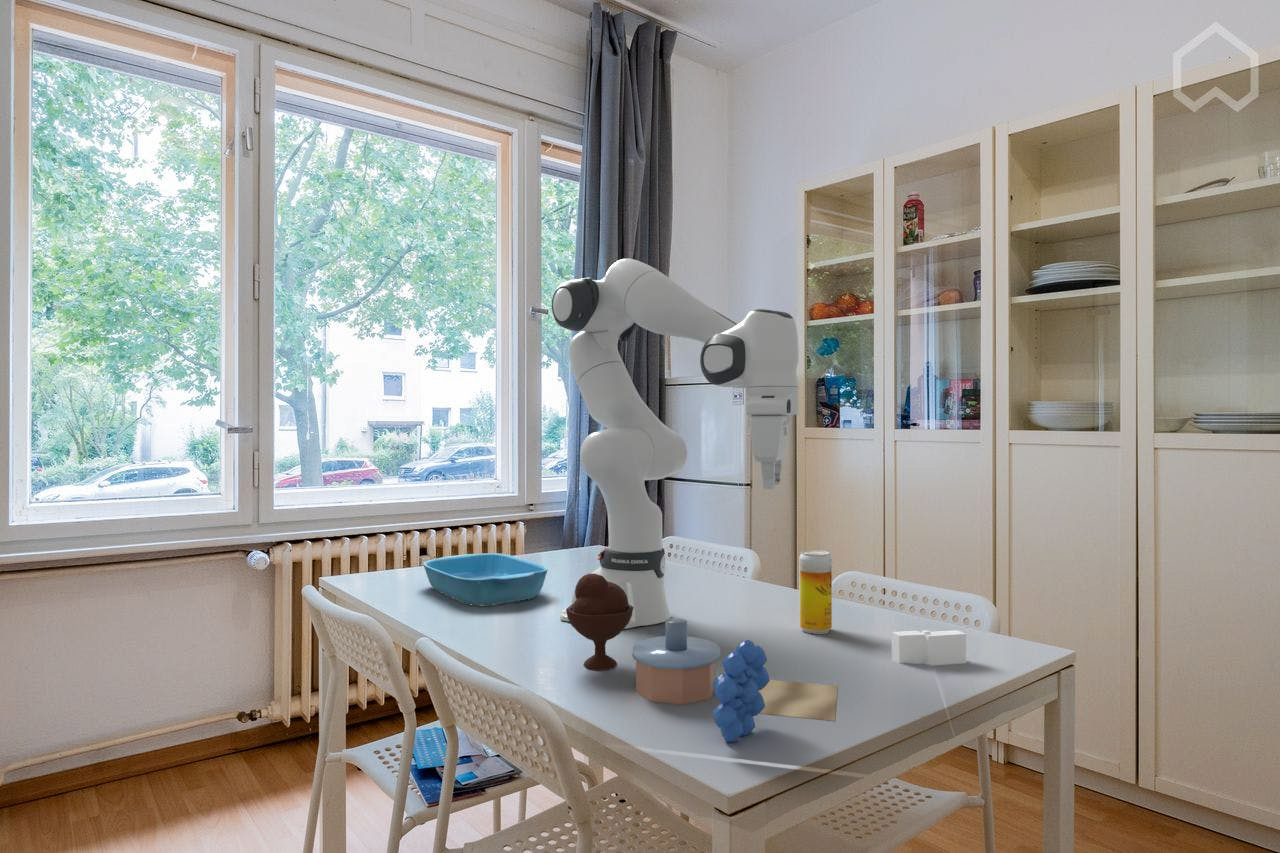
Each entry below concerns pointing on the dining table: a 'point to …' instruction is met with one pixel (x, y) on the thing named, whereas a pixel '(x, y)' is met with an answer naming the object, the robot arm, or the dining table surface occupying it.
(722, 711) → the grapes
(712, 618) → the dining table surface
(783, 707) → the plate
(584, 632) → the ice cream bowl
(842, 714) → the dining table surface
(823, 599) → the beer can
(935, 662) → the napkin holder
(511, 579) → the casserole dish
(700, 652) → the lid
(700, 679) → the bowl
